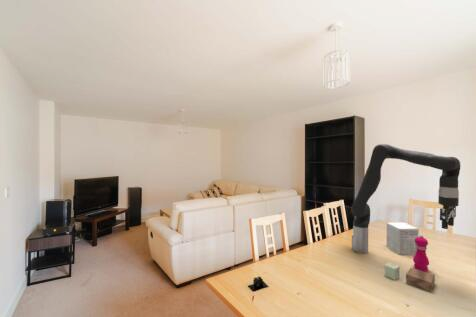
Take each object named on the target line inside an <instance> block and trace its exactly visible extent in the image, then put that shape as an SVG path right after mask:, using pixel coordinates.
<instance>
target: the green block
mask: <svg viewBox="0 0 476 317" xmlns="http://www.w3.org/2000/svg"><path fill="white" fill-rule="evenodd" d="M384 276H385V277H387V278H389V279H392V280H394V281H396V280H397V279H399V278H400V266H399V265H397V264H394V263H391V262H388V263H386V264H384Z"/></svg>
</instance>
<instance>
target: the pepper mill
mask: <svg viewBox="0 0 476 317" xmlns="http://www.w3.org/2000/svg"><path fill="white" fill-rule="evenodd" d="M415 243H416V248H417V251H416V254H415V255H413V257H412V261H413V268H414V269H417V270H420V271H423V272H427V271H429V267H428V266H429V265H430V261H429V258H428V256H427V251H426V250H428V247H427V246H428V245H429V241H428V240H427V238H425V237H424V235H423V234H419V235H418V237H416V238H415Z"/></svg>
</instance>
